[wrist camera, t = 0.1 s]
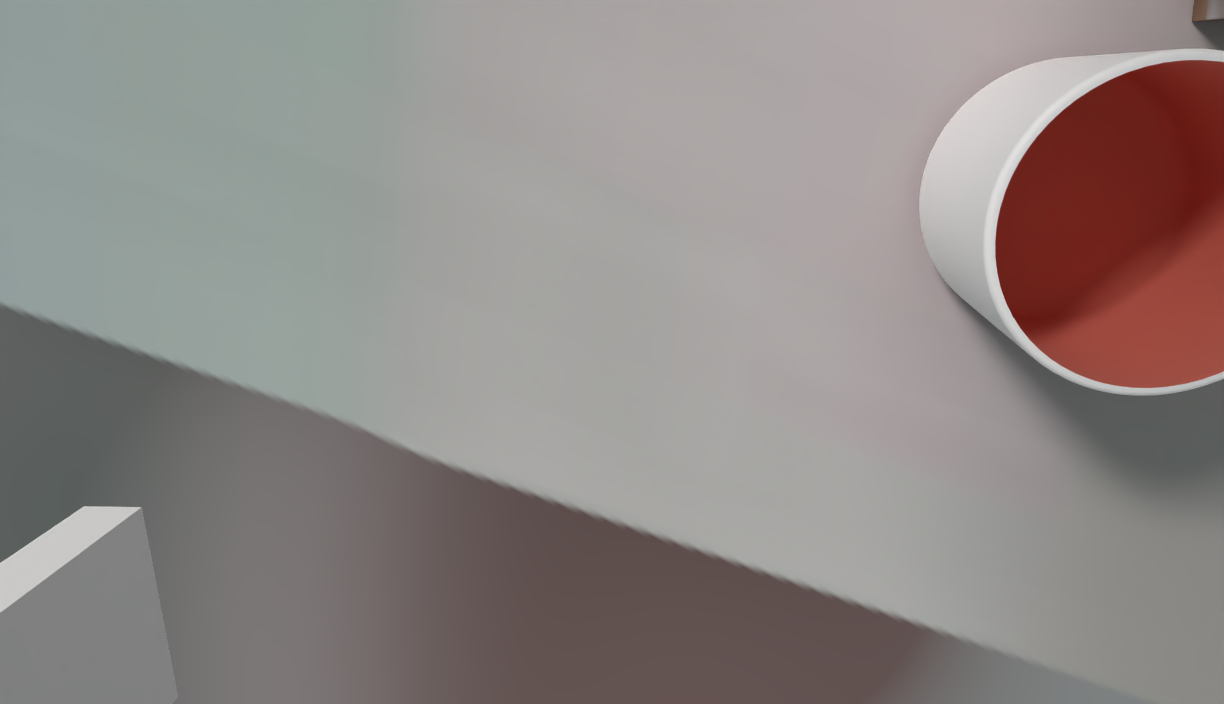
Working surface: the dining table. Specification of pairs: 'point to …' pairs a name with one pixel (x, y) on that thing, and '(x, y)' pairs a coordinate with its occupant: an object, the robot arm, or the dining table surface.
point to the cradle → (1208, 10)
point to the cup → (1091, 215)
